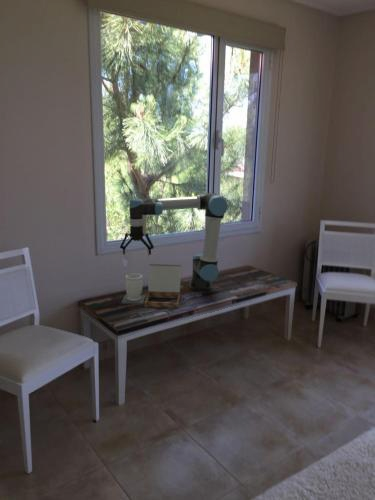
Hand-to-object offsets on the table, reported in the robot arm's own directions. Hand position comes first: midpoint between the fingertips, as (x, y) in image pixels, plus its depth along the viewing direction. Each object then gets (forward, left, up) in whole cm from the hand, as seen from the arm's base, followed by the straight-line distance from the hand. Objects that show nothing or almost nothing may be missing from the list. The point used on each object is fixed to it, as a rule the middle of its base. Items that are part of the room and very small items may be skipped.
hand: (137, 259), depth 253 cm
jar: (+2, +3, -25) cm, 25 cm away
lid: (-16, -7, -14) cm, 22 cm away
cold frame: (-16, +4, -25) cm, 30 cm away
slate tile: (+2, +3, -25) cm, 26 cm away
